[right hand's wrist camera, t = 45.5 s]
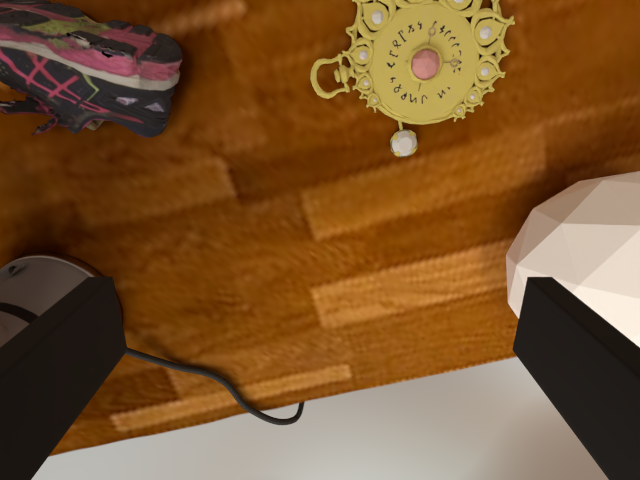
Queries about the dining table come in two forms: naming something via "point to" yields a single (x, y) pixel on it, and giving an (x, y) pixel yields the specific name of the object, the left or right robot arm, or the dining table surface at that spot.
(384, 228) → the dining table surface
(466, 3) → the decorative object
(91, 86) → the athletic shoe
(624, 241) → the sphere
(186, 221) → the dining table surface
